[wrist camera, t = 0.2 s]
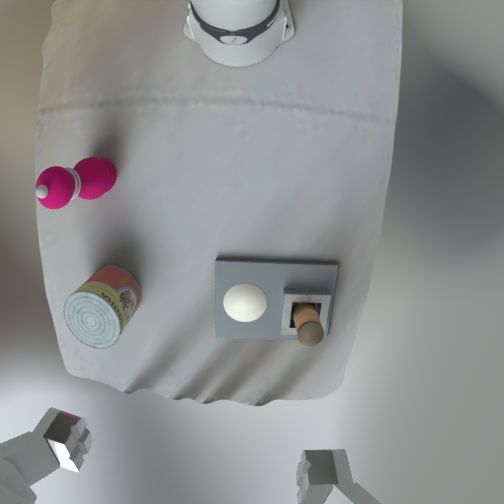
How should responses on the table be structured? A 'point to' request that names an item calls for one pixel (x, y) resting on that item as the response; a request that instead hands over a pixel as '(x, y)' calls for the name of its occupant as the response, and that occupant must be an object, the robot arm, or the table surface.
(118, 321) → the canned food
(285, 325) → the collar
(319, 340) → the plug
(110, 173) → the pepper mill
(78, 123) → the table surface
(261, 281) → the base plate
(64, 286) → the table surface
